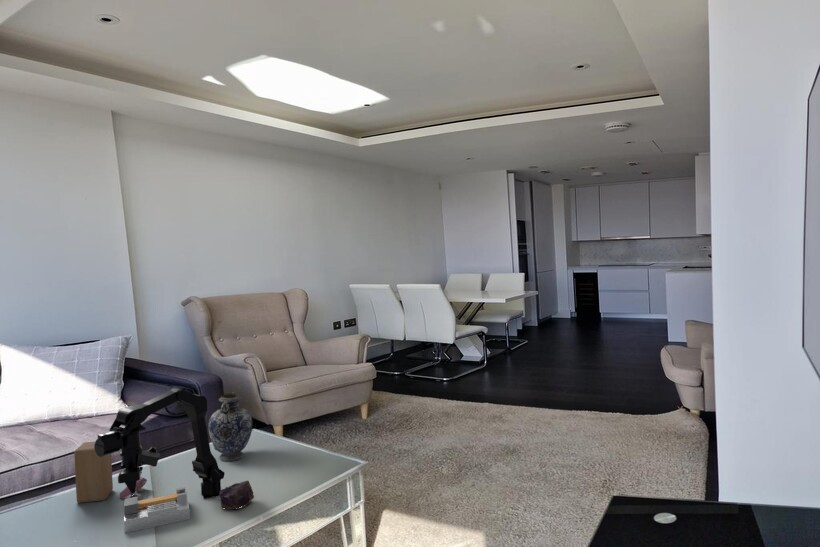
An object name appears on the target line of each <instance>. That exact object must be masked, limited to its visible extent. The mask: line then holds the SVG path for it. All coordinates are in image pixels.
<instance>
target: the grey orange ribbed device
mask: <svg viewBox="0 0 820 547" xmlns="http://www.w3.org/2000/svg"><path fill="white" fill-rule="evenodd" d="M175 492H176V493H175V494H177V500H174V501H168V502H163V503H158V504H153V505H148V506H143V507H138V513H133V514H128V515H124V517H123V518H124V519H123V527H124V528H123V529H124V534H126V532H127V533H131V532H136V531H139V530H140V531H141V530H145V529H150V528H154V527H159V526H165V525H167V524H172V523H179V522H182V521H189V520H190V519H191V516H190V514H191V513H190V504H189V498H188V493H187V492H186V487H180V488H175ZM181 492H182V493H181ZM178 493H181V494H178Z"/></svg>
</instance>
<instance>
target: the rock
mask: <svg viewBox="0 0 820 547" xmlns="http://www.w3.org/2000/svg"><path fill="white" fill-rule="evenodd" d="M254 498H255V494H254V491H253V488H252V486H251V483H250V482H249V480H245V481H240V482H236V483H233V484H232V485H228V486H227V487H225V488H223V489H222V488H221V490H220V496H219V499H220V505H221V506H220V507H221V509H223V508H225V509H224V510H229V509H228V508H231V509H232V510H234V509H236V508H239V507H241V506H244V505H246V506H248V505H250V501H252V500H253V499H254ZM231 509H230V510H231Z"/></svg>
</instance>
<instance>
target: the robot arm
mask: <svg viewBox="0 0 820 547" xmlns="http://www.w3.org/2000/svg"><path fill="white" fill-rule="evenodd" d="M175 403H179V404H182V406H183V408H184V409H183V410H184V412H185V413H186V415H187V416H188V418H189V419H190V422H191V428H192V434H193V440H194V441H193V442H194V445H195V446H194V447H195V451H196V456H195V459H194V460H192V461H191V465H192V471H193V472H194V473H195V474H196V475H197V476H198V478H199V479H202V480H201V481H202V482H200V495H201V496H202V498H203V499H205V500H206V499H210V498H216V496H217V497H220V490H222V485H221V484H222V482H221V480H223V479H224V478H225V475H226V474H225V472H224V471H223V470H222V469H220V468H219V464H218V462H217V459H216V458H215V456H214V455H213V453H212V451H211V446H210V441H209V440H210V439H209V432H208V429H207V428H208V426H207V421H206V414H207V412H208V399H207V397H206V396H204V395H201V394H200V395H199V394H196V393H191V392H188V391H186V390H185V389H183V388H178V387H173V388H171V389H170V390H168V391H166V392H164V393H162V394H159V395H158V396H156V397H154V398H151V399H150V400H147V401H145V402H143V403H140V404H134V405H129V406H125V407H123V408H120V409H118V411H117V413H116V417H115V419H114V421H113V422H112V424H111V426H110V428H109V430H108V431H109V432H106V433H100V434H97V439H96V440H95V441H96V442H95V441H94V442H95V444H94V448H95V452H96V454H97V455H98V456H99V457H103V456H105V455H108V454H111V455H112V454H114V453H116V452H119V451H120V457H121V464H120V469H121V471H120V472H119V473H118V476H117V484H125V485H126V487H128V489H129V490H130V492H131V493H135V494H136V492H135V490H136V484H137V481H138V480H140V477H142V473H143V472H142V471H143V468H144V467H143V466H142V465H146V466H151V467H158V466H157V465H158V462H159V460H160V457H161V456H160V455H161V453H159V451H158V450H157V447H156V446H150V448H149V449H146V450H143V446H142V445H141V434H140V432H143V431H145V430H147V427H145V426H143V425H142V423H144V422H145V421H146V420H147V419H148V417H150V416H152V415H153V414H155V413H157V412H159V411H161V410H163V409H165V408H167V407H170V406H171V405H173V404H175ZM122 426H123V427H122ZM122 469H123V470H122Z"/></svg>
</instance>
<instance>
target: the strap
mask: <svg viewBox="0 0 820 547" xmlns="http://www.w3.org/2000/svg"><path fill="white" fill-rule="evenodd" d="M181 493H182V492H181ZM181 493H178V494H181ZM174 500H177V494H176V493H173V494H169V495H162V496H159V497H158V496H157V497H152V498H147V499H141V500H138V507H143V506H148V505H153V504H158V503H163V502H168V501H174Z"/></svg>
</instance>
